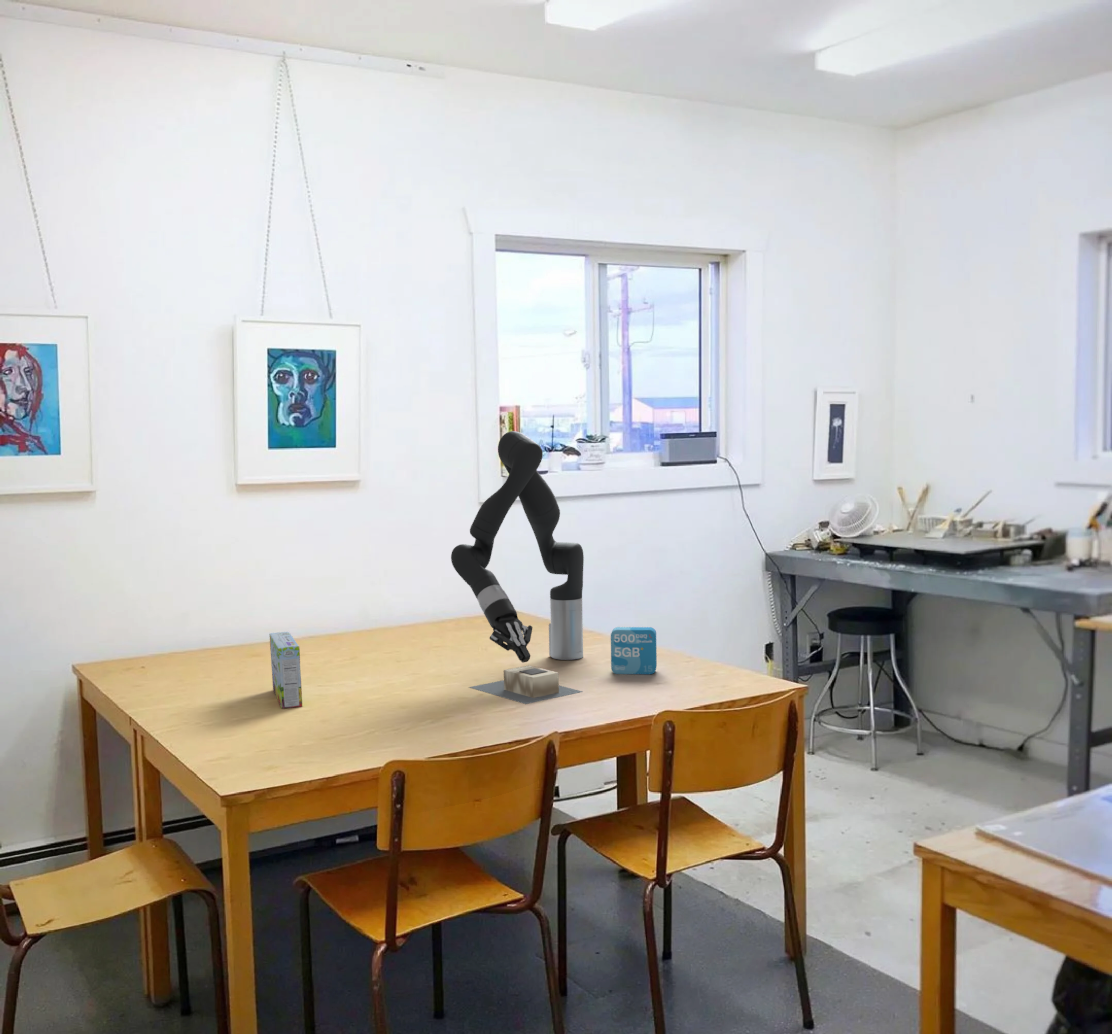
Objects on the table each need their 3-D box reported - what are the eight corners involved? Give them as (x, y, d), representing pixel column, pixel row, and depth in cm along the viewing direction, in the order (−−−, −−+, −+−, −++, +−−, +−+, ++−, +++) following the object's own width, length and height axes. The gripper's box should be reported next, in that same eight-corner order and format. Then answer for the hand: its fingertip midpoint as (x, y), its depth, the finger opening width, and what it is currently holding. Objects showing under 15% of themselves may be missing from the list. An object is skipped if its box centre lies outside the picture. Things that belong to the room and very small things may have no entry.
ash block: (503, 669, 273) (533, 676, 264) (528, 664, 278) (558, 671, 269) (504, 689, 274) (533, 697, 264) (529, 684, 279) (558, 692, 269)
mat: (468, 688, 277) (468, 687, 277) (524, 677, 288) (524, 676, 288) (526, 705, 259) (526, 704, 258) (583, 692, 270) (583, 691, 270)
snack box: (270, 690, 279) (268, 632, 278) (292, 688, 281) (290, 630, 280) (280, 709, 259) (277, 647, 258) (303, 707, 261) (301, 645, 260)
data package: (611, 674, 290) (610, 629, 289) (612, 670, 295) (611, 626, 294) (656, 674, 289) (655, 630, 288) (656, 671, 293) (656, 627, 292)
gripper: (481, 600, 274) (511, 655, 266) (523, 594, 283) (553, 647, 274) (470, 618, 279) (499, 673, 270) (511, 612, 287) (540, 665, 278)
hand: (526, 660), depth 272 cm, fingers closed
